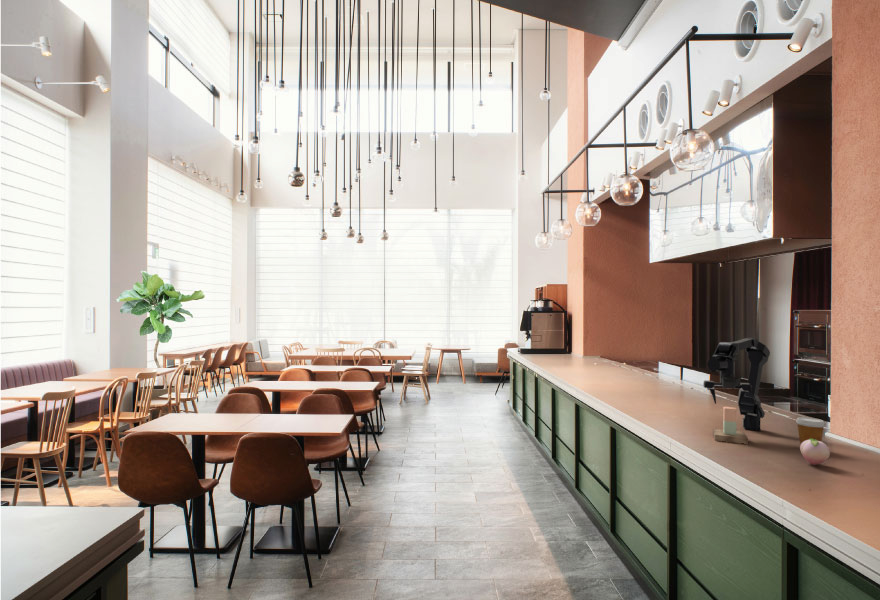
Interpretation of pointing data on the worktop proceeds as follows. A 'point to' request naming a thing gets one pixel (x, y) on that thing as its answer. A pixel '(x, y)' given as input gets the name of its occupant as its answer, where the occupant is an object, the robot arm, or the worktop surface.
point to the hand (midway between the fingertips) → (726, 404)
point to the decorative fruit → (814, 451)
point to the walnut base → (730, 436)
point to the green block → (729, 427)
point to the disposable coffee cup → (809, 428)
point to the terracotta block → (729, 414)
